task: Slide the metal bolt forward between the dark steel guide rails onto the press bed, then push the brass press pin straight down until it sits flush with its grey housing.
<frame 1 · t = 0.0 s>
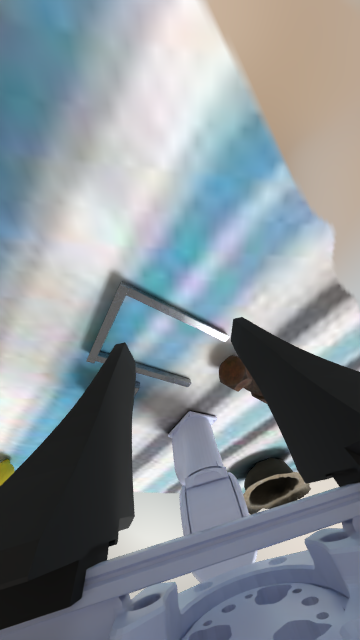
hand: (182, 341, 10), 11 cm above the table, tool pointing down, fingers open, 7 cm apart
bolt: (247, 374, 30), on the table
lemon: (8, 458, 30), on the table
press: (164, 344, 23), on the table
stone bowl: (261, 466, 56), on the table
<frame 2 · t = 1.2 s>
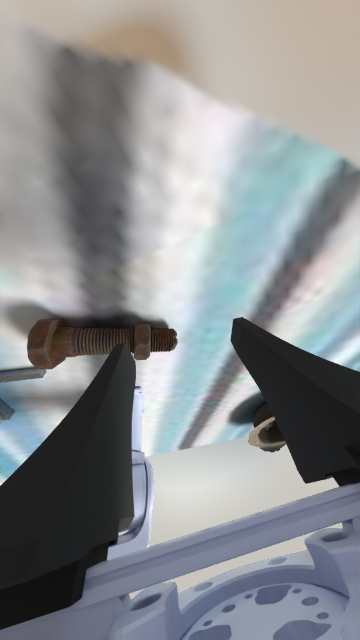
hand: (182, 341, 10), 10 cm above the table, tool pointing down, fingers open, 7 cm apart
bolt: (119, 329, 20), on the table
stone bowl: (272, 405, 49), on the table
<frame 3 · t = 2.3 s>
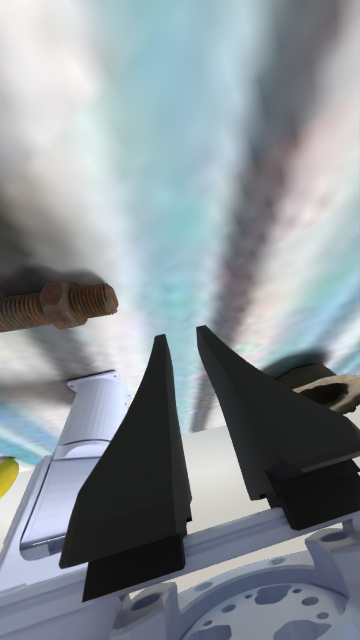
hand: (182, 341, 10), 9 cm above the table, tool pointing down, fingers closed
bolt: (48, 299, 16), on the table
lemon: (12, 456, 38), on the table
stone bowl: (290, 380, 41), on the table
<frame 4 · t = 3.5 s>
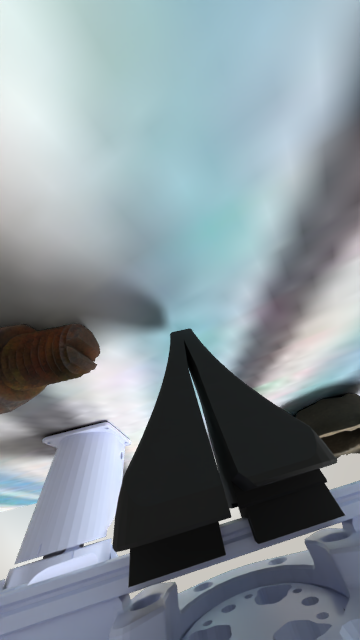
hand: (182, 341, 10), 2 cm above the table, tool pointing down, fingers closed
stone bowl: (315, 408, 35), on the table
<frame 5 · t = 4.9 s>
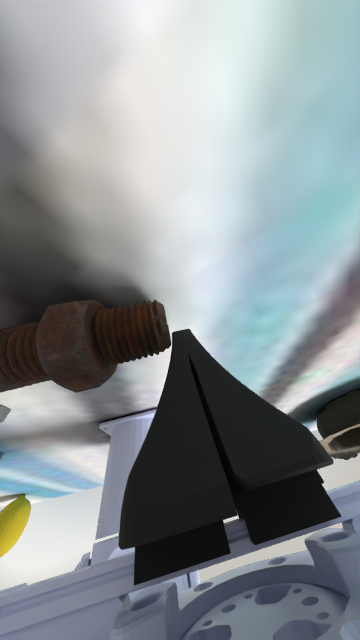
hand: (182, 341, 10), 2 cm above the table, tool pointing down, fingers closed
bolt: (53, 326, 10), on the table, touching gripper
lemon: (23, 493, 32), on the table
stone bowl: (341, 401, 36), on the table
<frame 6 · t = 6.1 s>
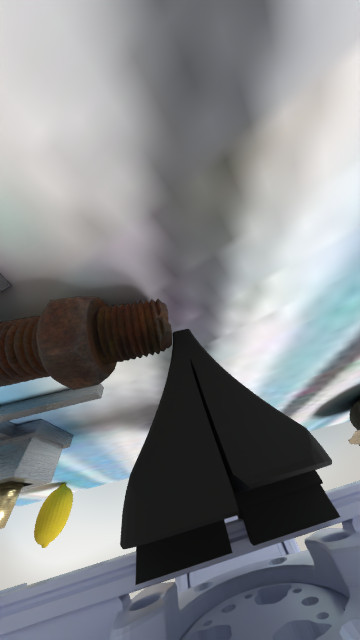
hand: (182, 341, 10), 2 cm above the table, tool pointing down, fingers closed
bolt: (51, 322, 10), on the table, touching gripper
lemon: (64, 481, 33), on the table
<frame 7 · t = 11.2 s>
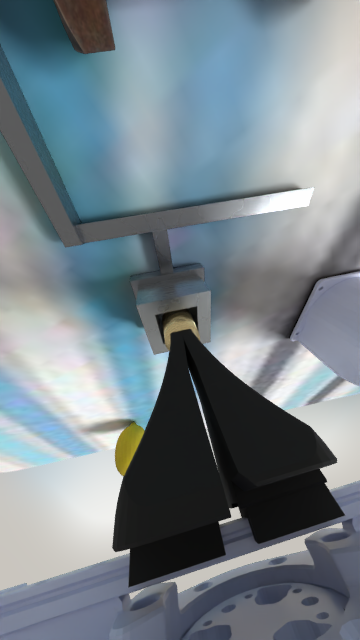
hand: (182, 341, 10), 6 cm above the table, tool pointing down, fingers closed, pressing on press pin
lemon: (133, 421, 30), on the table
press: (192, 78, 7), on the table
press pin: (179, 328, 11), point 4 cm above the table, slide at 0.9 cm, touching gripper
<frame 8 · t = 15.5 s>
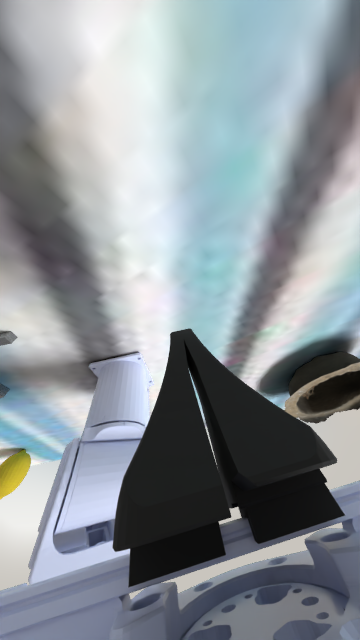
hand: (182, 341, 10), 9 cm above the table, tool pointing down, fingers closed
lemon: (24, 448, 36), on the table
stone bowl: (311, 369, 40), on the table
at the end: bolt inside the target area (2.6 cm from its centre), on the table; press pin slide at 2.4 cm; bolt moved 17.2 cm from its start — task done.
